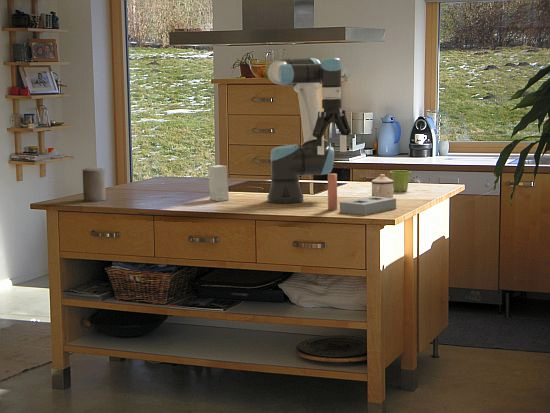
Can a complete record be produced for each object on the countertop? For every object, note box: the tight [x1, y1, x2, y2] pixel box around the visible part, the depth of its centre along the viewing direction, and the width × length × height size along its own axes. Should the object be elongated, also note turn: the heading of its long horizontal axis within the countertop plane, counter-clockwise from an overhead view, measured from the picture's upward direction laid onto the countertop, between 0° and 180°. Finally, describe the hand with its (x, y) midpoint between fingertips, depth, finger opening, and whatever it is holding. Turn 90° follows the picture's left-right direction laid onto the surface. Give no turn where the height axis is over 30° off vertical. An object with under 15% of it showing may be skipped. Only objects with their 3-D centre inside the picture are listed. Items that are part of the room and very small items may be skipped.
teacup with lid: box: [371, 173, 394, 198], centre depth 387 cm, size 12×9×12 cm
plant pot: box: [389, 169, 412, 193], centre depth 423 cm, size 9×9×9 cm
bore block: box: [339, 195, 397, 216], centre depth 369 cm, size 12×20×4 cm, turn 136°
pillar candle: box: [82, 166, 107, 202], centre depth 414 cm, size 10×10×15 cm
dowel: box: [327, 173, 338, 211], centre depth 373 cm, size 4×4×14 cm
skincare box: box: [207, 164, 230, 202], centre depth 406 cm, size 8×6×15 cm
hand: (332, 153), depth 370 cm, fingers open, 13 cm apart
